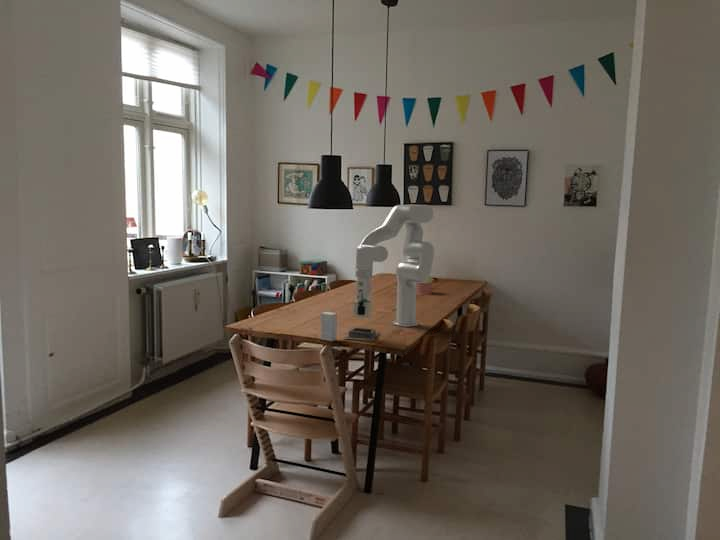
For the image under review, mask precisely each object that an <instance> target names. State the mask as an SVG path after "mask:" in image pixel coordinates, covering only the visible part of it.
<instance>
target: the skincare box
mask: <svg viewBox="0 0 720 540" xmlns="http://www.w3.org/2000/svg"><path fill="white" fill-rule="evenodd" d="M320 314H321V315H320V316H321V317H320V340H322V341H327V342H333V341H336V340H338V338H337V337H338V313H336V312H330V311H324V312H321V313H320Z"/></svg>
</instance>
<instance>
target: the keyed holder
mask: <svg viewBox="0 0 720 540" xmlns="http://www.w3.org/2000/svg"><path fill="white" fill-rule="evenodd" d="M380 334H381V332H376V328H366V327H365V328H364V327H354V326H353V327H351V329H350V330H349V331H348V334H347V335H345V337H343V340H344V339H351V340H350V341H353V340H360V341H359V342H364V341H368V342H367V343H373V342H374V341H375V340H376V339H377V338H378V337H379V335H380ZM376 337H377V338H376ZM375 338H376V339H375Z"/></svg>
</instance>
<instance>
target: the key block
mask: <svg viewBox="0 0 720 540" xmlns="http://www.w3.org/2000/svg"><path fill="white" fill-rule="evenodd" d="M364 306H365V315H358V314H357V313H358V299H355V300H354V301H353V317H354V318H362V319H364V318H365V319H369V318H371V316H372V300H368V301H366V300H365V304H364Z"/></svg>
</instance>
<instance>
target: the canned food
mask: <svg viewBox="0 0 720 540" xmlns="http://www.w3.org/2000/svg"><path fill="white" fill-rule="evenodd" d="M432 282H433V274H430V278H429V280H428V281H427V282H425V283H419V282H414V284H415V287H416V293H417V294H416V295H424V294H427V295H432V289H433V288H432V286H433V283H432Z"/></svg>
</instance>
